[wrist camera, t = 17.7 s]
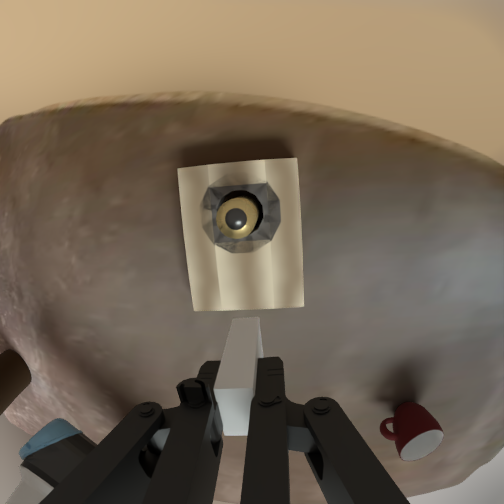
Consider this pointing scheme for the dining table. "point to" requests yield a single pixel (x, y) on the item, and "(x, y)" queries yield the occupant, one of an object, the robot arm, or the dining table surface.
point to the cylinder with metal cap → (237, 217)
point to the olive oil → (12, 378)
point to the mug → (413, 431)
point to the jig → (247, 248)
